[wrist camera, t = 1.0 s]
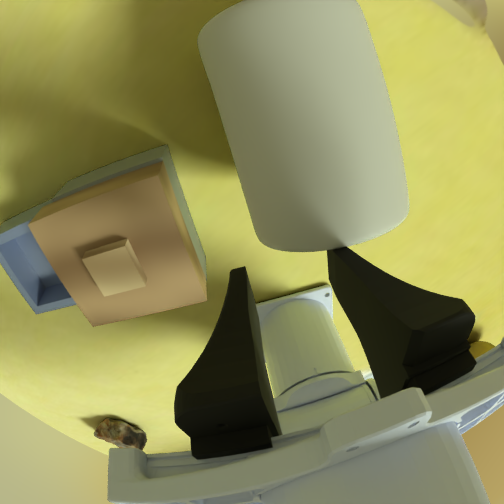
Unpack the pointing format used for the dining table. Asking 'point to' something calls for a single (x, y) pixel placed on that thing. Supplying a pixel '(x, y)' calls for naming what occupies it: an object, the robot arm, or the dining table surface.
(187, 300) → the lid
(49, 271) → the blue open tray
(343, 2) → the mug
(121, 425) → the rock
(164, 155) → the stand
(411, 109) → the dining table surface
